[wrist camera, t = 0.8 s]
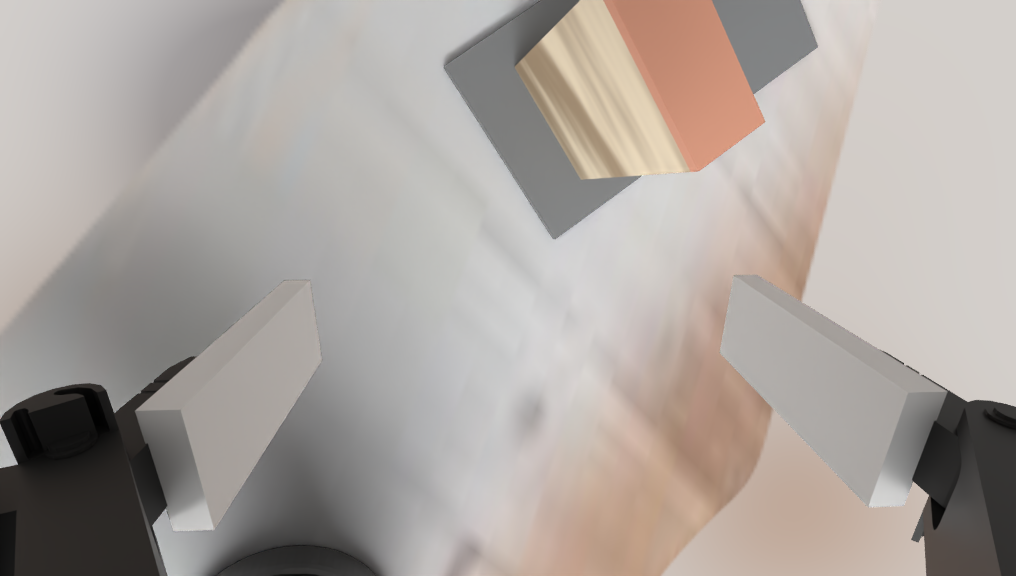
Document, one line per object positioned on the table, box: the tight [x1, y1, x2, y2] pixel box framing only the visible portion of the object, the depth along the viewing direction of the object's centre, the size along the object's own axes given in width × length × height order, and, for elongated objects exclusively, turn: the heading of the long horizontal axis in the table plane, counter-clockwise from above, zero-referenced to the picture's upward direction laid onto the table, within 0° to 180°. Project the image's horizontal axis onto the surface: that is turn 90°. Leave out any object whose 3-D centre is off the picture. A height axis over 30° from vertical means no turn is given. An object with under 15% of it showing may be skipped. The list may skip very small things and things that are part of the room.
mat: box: [444, 0, 818, 239], centre depth 35 cm, size 26×14×1 cm, turn 124°
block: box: [515, 0, 765, 180], centre depth 27 cm, size 4×9×14 cm, turn 34°
